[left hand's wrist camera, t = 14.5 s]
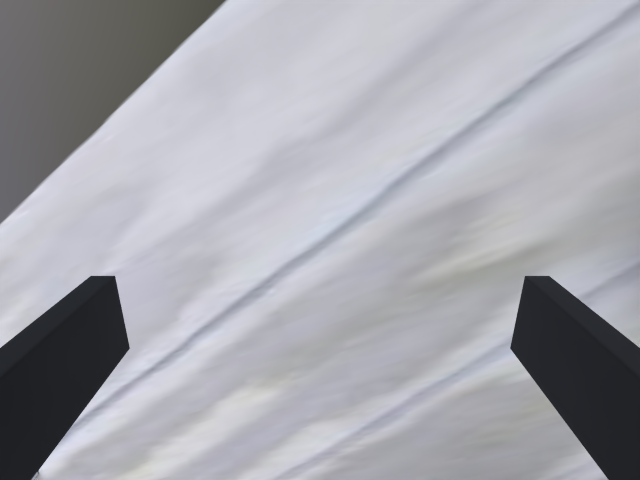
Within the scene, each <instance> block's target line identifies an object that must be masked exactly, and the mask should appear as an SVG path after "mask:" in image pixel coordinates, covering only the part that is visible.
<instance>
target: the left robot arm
mask: <svg viewBox="0 0 640 480" xmlns="http://www.w3.org/2000/svg"><path fill="white" fill-rule="evenodd" d="M129 349H130V348H129V343H128V338H127V333H126V328H125V323H124V318H123V313H122V308H121V304H120V299H119V294H118V289H117V284H116V279H115V276H90V277H89V278H88V279H87V280H85V281H84V282H83V283H82V284H80V285H79V286H78V287H77V288H75V289H74V290H73V291H71V292H70V293H69V294H68V295H66V296H65V297H64V298H63V299H61V300H60V301H59V302H58V303H56V304H55V305H54V306H53V307H51V308H50V309H49V310H48V311H46V312H45V313H44V314H43V315H41V316H40V317H39V318H38V319H36V320H35V321H34V322H32V323H31V324H30V325H29V326H27V327H26V328H25V329H24V330H22V331H21V332H20V333H19V334H17V335H16V336H15V337H14V338H12V339H11V340H10V341H9V342H7V343H6V344H5V345H4V346H2V347H1V348H0V480H31V479H32V478H33V477H34V475H35V474H36V473H37V471H38V470H39V469H40V467H41V466H42V465H43V463H44V462H45V461H46V459H47V458H48V457H49V455H50V454H51V453H52V451H53V450H54V449H55V447H56V446H57V445H58V443H59V442H60V441H61V439H62V438H63V437H64V435H65V434H66V433H67V431H68V430H69V429H70V427H71V426H72V425H73V423H74V422H75V421H76V419H77V418H78V417H79V415H80V414H81V413H82V411H83V410H84V409H85V407H86V406H87V405H88V403H89V402H90V401H91V399H92V398H93V397H94V395H95V394H96V393H97V391H98V390H99V389H100V387H101V386H102V385H103V383H104V382H105V381H106V379H107V378H108V377H109V375H110V374H111V373H112V371H113V370H114V369H115V367H116V366H117V365H118V363H119V362H120V361H121V359H122V358H123V357H124V355H125V354H126V353H127V351H128V350H129ZM510 349H511V350H512V351H513V353H514V354H515V355H516V357H517V358H518V359H519V361H520V362H521V363H522V365H523V366H524V367H525V369H526V370H527V371H528V373H529V374H530V375H531V377H532V378H533V379H534V381H535V382H536V383H537V385H538V386H539V387H540V389H541V390H542V391H543V393H544V394H545V395H546V397H547V398H548V399H549V401H550V402H551V403H552V405H553V406H554V407H555V409H556V410H557V411H558V413H559V414H560V415H561V417H562V418H563V419H564V421H565V422H566V423H567V425H568V426H569V427H570V429H571V430H572V431H573V433H574V434H575V435H576V437H577V438H578V439H579V441H580V442H581V443H582V445H583V446H584V447H585V449H586V450H587V451H588V453H589V454H590V455H591V457H592V458H593V459H594V461H595V462H596V463H597V465H598V466H599V467H600V469H601V470H602V471H603V473H604V474H605V475H606V477H607V478H608V479H609V480H640V348H639V347H638V346H636V345H635V344H634V343H633V342H631V341H630V340H629V339H628V338H626V337H625V336H624V335H623V334H621V333H620V332H619V331H618V330H616V329H615V328H614V327H613V326H611V325H610V324H609V323H608V322H606V321H605V320H604V319H602V318H601V317H600V316H599V315H597V314H596V313H595V312H594V311H592V310H591V309H590V308H589V307H587V306H586V305H585V304H584V303H582V302H581V301H580V300H579V299H577V298H576V297H575V296H574V295H572V294H571V293H570V292H569V291H567V290H566V289H565V288H563V287H562V286H561V285H560V284H558V283H557V282H556V281H555V280H553V279H552V278H551V277H550V276H525V279H524V284H523V289H522V294H521V299H520V304H519V308H518V313H517V318H516V323H515V328H514V333H513V338H512V343H511V348H510Z"/></svg>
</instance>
